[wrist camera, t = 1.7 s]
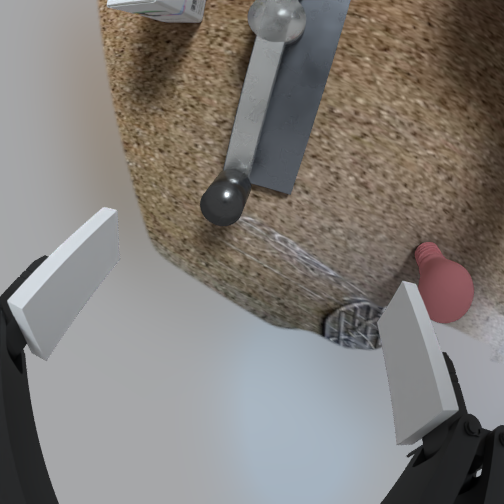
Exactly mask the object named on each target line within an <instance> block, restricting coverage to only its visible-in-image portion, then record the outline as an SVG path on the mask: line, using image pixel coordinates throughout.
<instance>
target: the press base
mask: <svg viewBox="0 0 504 504" xmlns="http://www.w3.org/2000/svg"><path fill="white" fill-rule="evenodd" d="M298 2H299V3H300V4H301V5H302V6H303V8H304V10H305V13H306V25H305V29H304V32H303V34H302V35H301V36H300V37H299V38H298V39H297V40H296V41H294V42H292V43H290V44H286V45H285V48H284V52H283V55H282V59H281V62H280V66H279V69H278V73H277V77H276V80H275V84H274V87H273V91H272V95H271V98H270V102H269V106H268V109H267V113H266V117H265V120H264V124H263V128H262V132H261V135H260V139H259V143H258V147H257V151H256V154H255V158H254V162H253V166H252V170H251V174H250V177H249V180H250V182H251V183H252V184H255V185H259V186H263V187H266V188H270V189H273V190H276V191H280V192H283V193H287V194H290V195H291V192H292V189H293V186H294V182H295V179H296V176H297V173H298V170H299V167H300V164H301V161H302V158H303V155H304V151H305V148H306V145H307V142H308V139H309V136H310V133H311V129H312V126H313V123H314V120H315V117H316V114H317V110H318V107H319V104H320V101H321V97H322V94H323V91H324V88H325V84H326V81H327V78H328V75H329V71H330V68H331V65H332V61H333V58H334V55H335V51H336V48H337V45H338V41H339V38H340V35H341V31H342V28H343V24H344V21H345V18H346V14H347V11H348V7H349V4H350V0H298ZM256 38H257V35H256ZM255 41H256V39H255ZM254 45H255V42H254ZM253 49H254V46H253ZM252 52H253V50H252ZM251 56H252V53H251ZM250 60H251V57H250ZM249 64H250V61H249ZM248 68H249V65H248ZM247 71H248V69H247ZM246 75H247V72H246ZM245 79H246V76H245ZM244 83H245V80H244ZM243 87H244V84H243ZM242 91H243V88H242ZM241 95H242V92H241ZM240 99H241V96H240ZM239 103H240V100H239ZM238 107H239V104H238ZM237 111H238V108H237ZM236 115H237V112H236ZM235 119H236V116H235ZM234 124H235V121H234ZM233 128H234V125H233ZM232 132H233V129H232ZM231 136H232V133H231ZM230 141H231V138H230ZM229 145H230V142H229ZM228 150H229V147H228ZM227 154H228V151H227ZM226 158H227V155H226ZM225 163H226V160H225ZM224 167H225V164H224ZM223 171H224V169H223Z"/></svg>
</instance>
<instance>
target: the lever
mask: <svg viewBox="0 0 504 504" xmlns="http://www.w3.org/2000/svg"><path fill="white" fill-rule="evenodd" d="M248 23H249V25H250V28H251V29H252V31H253V32H254V33H255V34H256V35H257V38H256V41H255V45H254V49H253V52H252V56H251V60H250V64H249V68H248V71H247V75H246V79H245V83H244V87H243V91H242V95H241V99H240V103H239V107H238V111H237V115H236V119H235V124H234V128H233V132H232V136H231V141H230V145H229V150H228V154H227V158H226V163H225V167H224V171H222V172H221V173H220V174H219V175H218V176H217V177H216V179H215V180H214V181H213V183H212V184H211V185H210V186H209V188H208V189H207V190H206V192H205V193H204V194H203V196H202V198H201V201H200V207H201V211H202V214H203V215H204V217H205V218H206V219H207V220H208V221H209V222H211V223H213V224H215V225H218V226H228V225H231V224H233V223H235V222H236V221H237V220H238V219H239V218H240V216H241V214H242V211H243V209H244V206H245V204H246V201H247V199H248V196H249V194H250V191H251V182H250V180H249V177H250V174H251V170H252V166H253V162H254V158H255V154H256V151H257V147H258V143H259V139H260V135H261V132H262V128H263V124H264V120H265V117H266V113H267V109H268V106H269V102H270V98H271V95H272V91H273V87H274V84H275V80H276V77H277V73H278V69H279V66H280V62H281V59H282V55H283V52H284V48H285V45H286V44H290V43H292V42H294V41H296V40H297V39H298V38H299V37H300V36H301V35H302V34H303V32H304V29H305V25H306V13H305V10H304V8H303V6H302V5H301V4H300V3H299V2H298V0H256V1H255V2H254V3H253V4H252V5H251V7H250V9H249V12H248Z"/></svg>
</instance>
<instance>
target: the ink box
mask: <svg viewBox="0 0 504 504" xmlns="http://www.w3.org/2000/svg"><path fill="white" fill-rule="evenodd" d="M205 3H206V0H108V2H107V7H109V8H113V9H117V10H122V11H126V12H130V13H133V14H137V15H141V16H145V17H149V18H152V19H155V20H159V21H162V22H187V23H199V22H201V21H202V18H203V13H204V8H205Z"/></svg>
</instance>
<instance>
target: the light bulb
mask: <svg viewBox="0 0 504 504" xmlns="http://www.w3.org/2000/svg"><path fill="white" fill-rule="evenodd" d="M415 259H416V262H417V264H418V267H419V273H420V279H419V285H418V290H419V293H420V295H421V297H422V300H423V302H424V305H425V307H426V310H427V312H428V315H429V317H430V319H431V320H433V321H435V322H438V323H450V322H454V321H456V320H458V319H460V318H461V317H462V316H463V315H464V314H465V313H466V312H467V311H468V309H469V308H470V306H471V303H472V301H473V296H474V286H473V281H472V278H471V276H470V274H469V273H468V271H467V270H466V269H465V268H464V267H463V266H462V265H460V264H458V263H456V262H454V261H451V260H448V259H446V258H445V257H444V256H443V255H442V253H441V251H440V250H439V249H438V247H437V246H436V245H435V244H434V243H432V242H425V243H422V244H421V245H419V246H418V247H417V249H416V251H415Z"/></svg>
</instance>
